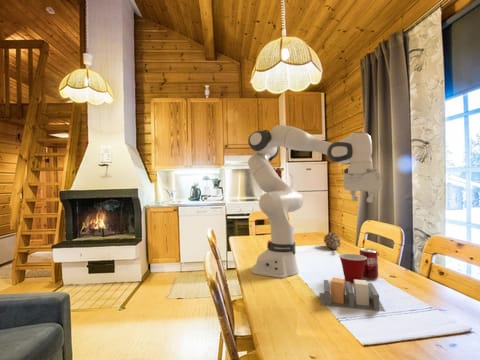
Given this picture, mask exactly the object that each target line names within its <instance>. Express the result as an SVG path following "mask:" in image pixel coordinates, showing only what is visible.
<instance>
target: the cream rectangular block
mask: <svg viewBox="0 0 480 360" xmlns="http://www.w3.org/2000/svg"><path fill="white" fill-rule="evenodd" d="M368 283H369V282H368V281H367V279H366V280H364V279H362V280H355V279H354V284H353V292H354V300H355V303H356V304H357V305H368V306H369V285H368Z"/></svg>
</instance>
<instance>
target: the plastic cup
mask: <svg viewBox="0 0 480 360" xmlns="http://www.w3.org/2000/svg"><path fill="white" fill-rule="evenodd" d="M338 257H339V258H340V262H341V266H342V267H341V268H342V273H343V276H344V279H345V281H348V282H350V284H353V285H354V279H355V280H363V270H364V265H365V260H366V259H367V257H365V256H362V255H360V254H356V253H342V254H340V253H339V254H338Z"/></svg>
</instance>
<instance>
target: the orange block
mask: <svg viewBox="0 0 480 360" xmlns="http://www.w3.org/2000/svg"><path fill="white" fill-rule="evenodd" d="M330 280H331V281H330V294H331V301H333V302H338V303H343V304H344V301H345V295H346V289H345V278H338V277H332V278H331V279H330Z"/></svg>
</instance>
